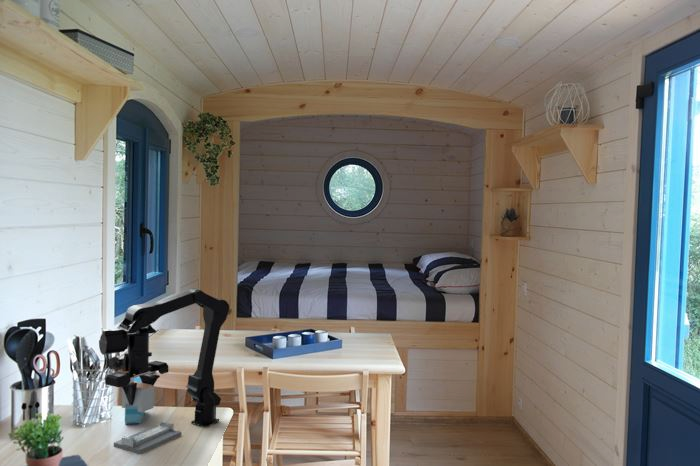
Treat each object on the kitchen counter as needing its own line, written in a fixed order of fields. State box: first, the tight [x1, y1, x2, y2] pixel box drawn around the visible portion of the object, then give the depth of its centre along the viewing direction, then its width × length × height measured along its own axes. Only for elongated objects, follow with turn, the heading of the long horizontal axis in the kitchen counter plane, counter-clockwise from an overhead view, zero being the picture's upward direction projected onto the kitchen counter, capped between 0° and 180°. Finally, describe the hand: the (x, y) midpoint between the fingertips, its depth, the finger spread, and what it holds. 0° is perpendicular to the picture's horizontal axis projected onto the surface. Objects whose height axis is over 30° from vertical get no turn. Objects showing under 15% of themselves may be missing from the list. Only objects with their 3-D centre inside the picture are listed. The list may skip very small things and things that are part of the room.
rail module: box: [121, 381, 155, 412], centre depth 169 cm, size 4×8×7 cm, turn 62°
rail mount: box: [113, 420, 182, 455], centre depth 168 cm, size 16×10×3 cm, turn 153°
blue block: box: [124, 376, 146, 425], centre depth 185 cm, size 12×4×12 cm, turn 12°
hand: (137, 402), depth 169 cm, fingers closed on rail module, 4 cm apart
